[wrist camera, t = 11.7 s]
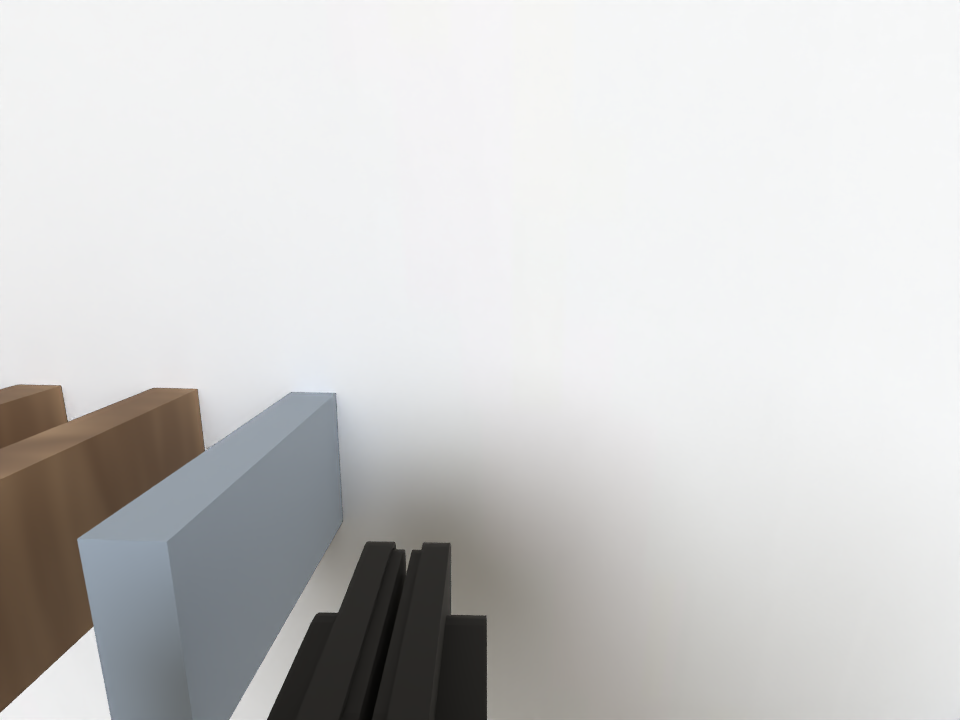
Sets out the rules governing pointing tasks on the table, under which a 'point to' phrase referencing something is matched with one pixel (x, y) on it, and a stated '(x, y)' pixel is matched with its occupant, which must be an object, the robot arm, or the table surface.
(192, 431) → the walnut tile
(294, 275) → the table surface
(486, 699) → the robot arm
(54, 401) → the walnut tile
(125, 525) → the blue grey rectangular block
